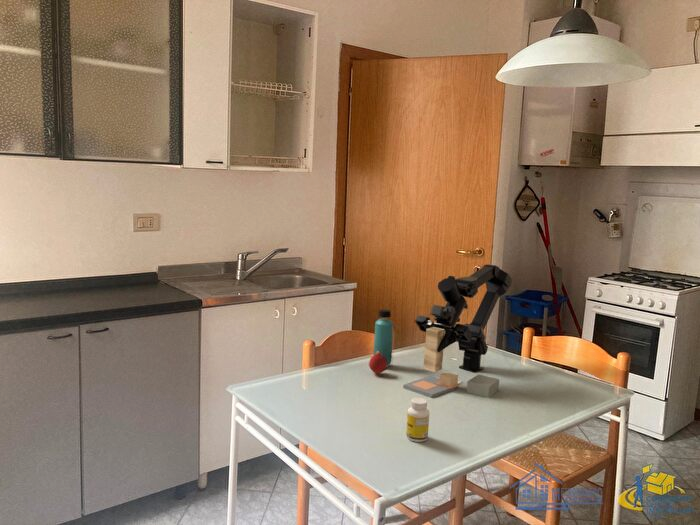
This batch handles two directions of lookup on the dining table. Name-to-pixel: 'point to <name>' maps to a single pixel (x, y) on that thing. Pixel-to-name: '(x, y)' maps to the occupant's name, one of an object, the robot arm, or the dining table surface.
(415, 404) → the supplement bottle
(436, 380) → the board
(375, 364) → the onion
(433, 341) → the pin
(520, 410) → the dining table surface
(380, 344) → the beverage bottle
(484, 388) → the cover
